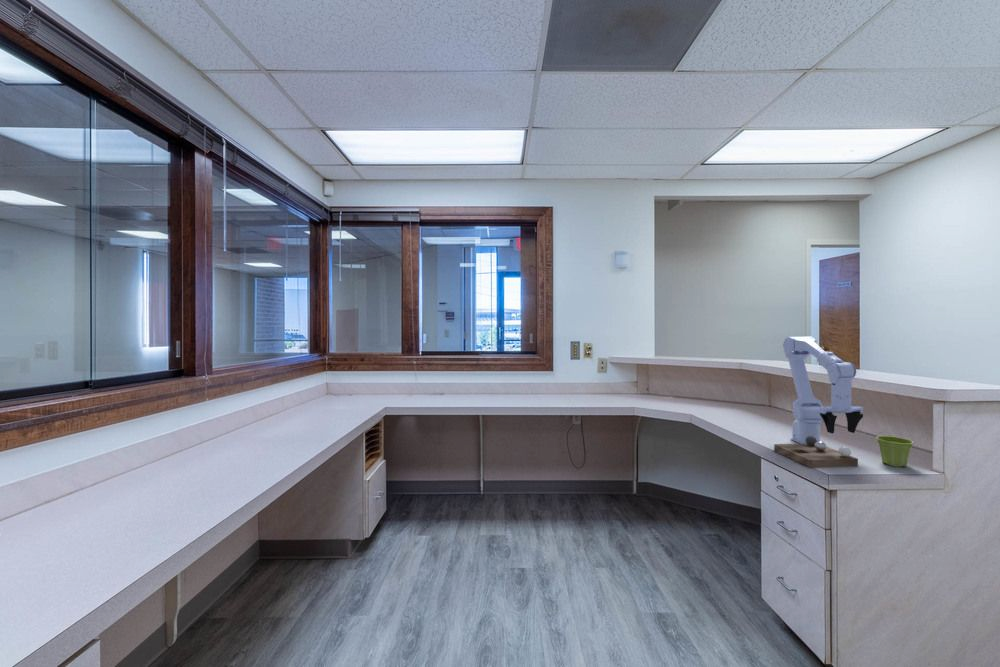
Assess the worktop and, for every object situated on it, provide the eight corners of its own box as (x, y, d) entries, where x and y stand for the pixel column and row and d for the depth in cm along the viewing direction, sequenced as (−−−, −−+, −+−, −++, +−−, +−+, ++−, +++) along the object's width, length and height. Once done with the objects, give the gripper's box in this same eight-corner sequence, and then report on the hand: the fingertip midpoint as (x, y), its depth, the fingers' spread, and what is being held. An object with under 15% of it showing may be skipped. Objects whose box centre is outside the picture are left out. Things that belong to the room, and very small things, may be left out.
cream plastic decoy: (835, 455, 147) (835, 445, 146) (845, 454, 147) (845, 445, 146) (843, 458, 143) (843, 448, 143) (853, 458, 143) (853, 448, 143)
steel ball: (812, 449, 153) (812, 440, 153) (821, 449, 153) (821, 439, 153) (819, 452, 150) (819, 442, 149) (828, 452, 150) (828, 442, 149)
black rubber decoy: (803, 444, 160) (803, 435, 159) (812, 443, 160) (812, 434, 159) (810, 446, 156) (810, 437, 156) (819, 446, 156) (819, 437, 156)
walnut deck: (774, 450, 160) (774, 444, 160) (817, 449, 160) (817, 443, 160) (808, 467, 142) (808, 459, 142) (857, 465, 142) (857, 458, 142)
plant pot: (875, 457, 150) (875, 434, 150) (911, 462, 144) (911, 438, 144) (876, 465, 143) (877, 440, 142) (915, 471, 137) (915, 445, 136)
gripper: (830, 398, 146) (829, 436, 147) (871, 397, 146) (870, 435, 147) (814, 394, 153) (814, 430, 154) (853, 393, 153) (853, 429, 154)
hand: (840, 432), depth 151 cm, fingers open, 7 cm apart
